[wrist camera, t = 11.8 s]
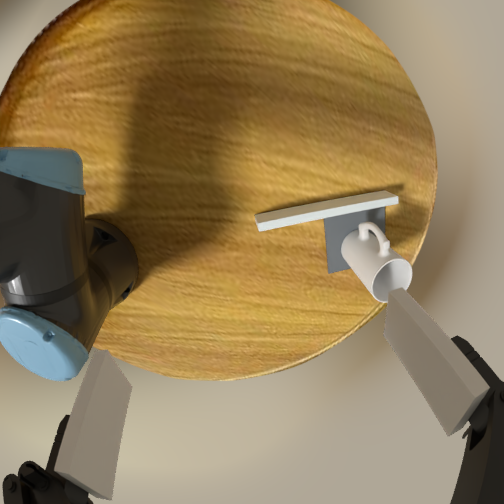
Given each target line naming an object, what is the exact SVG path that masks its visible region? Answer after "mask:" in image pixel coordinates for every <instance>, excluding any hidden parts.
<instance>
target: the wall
mask: <svg viewBox="0 0 504 504" xmlns="http://www.w3.org/2000/svg"><path fill="white" fill-rule="evenodd" d="M394 204H398V196H396V195H394V194H392V193H390V192H388V191H386V190H384V191H378V192H372V193H366V194H361V195H355V196H349V197H344V198H338V199H333V200H327V201H322V202H316V203H311V204H306V205H301V206H296V207H291V208H286V209H281V210H276V211H271V212H266V213H261V214H256V215H255V220H256V224H257V227H258V230H259V232H260V231H265V230H269V229H274V228H279V227H284V226H288V225H293V224H298V223H303V222H308V221H313V220H318V219H323V218H328V217H333V216H338V215H343V214H348V213H353V212H358V211H363V210H368V209H373V208H379V207H384V206H389V205H394Z"/></svg>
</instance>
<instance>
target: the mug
mask: <svg viewBox="0 0 504 504" xmlns="http://www.w3.org/2000/svg"><path fill="white" fill-rule="evenodd" d="M369 229H370V230H372V231H373V232H374V233H375V235H376V237H375V236H374V235H373V234H371V233H370V232H368V230H369ZM341 253H342V256H343V258H344V259H345V261H346V262H347V263H348V265H349V266H350V267H351V268H352V270H353V271H354V272H355V273H356V275H357V276H358V277H359V279H360V280H361V281H362V283H363V284H364V285H365V286H366V288H367V289H368V290H369V292H370V293H371V294H372V295H373V297H374V298H375V299H376V300H377V301H379V302H384V303H385V302H388V293H389V291H391V290H395V289H398V288H401V287H403V288H404V289H405V290H407V288H408V286H409V284H410V282H411V279H412V268H411V265H410V263H409V262H408V261H407V260H405V259H404V258H403V257H402V256H400V255H399V254H398V253H397V252H395V251H394V250H393V249H391V248H390V241H389V240H388V239H387V238H386V236H385V235H384V234H383V232H382V231H381V230H380V228H379V227H378V226H377V225H376V224H374V223H372V222H363V223H360V224H359V229H358V230H354V231H352V232H351V233H349V234H348V235H347V236H346V237H345V239H344V241H343V243H342V246H341Z"/></svg>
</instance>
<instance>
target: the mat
mask: <svg viewBox="0 0 504 504" xmlns="http://www.w3.org/2000/svg"><path fill="white" fill-rule="evenodd" d="M363 222H372V223H374V224H376V225H377V226H378V227H379V228H380V230H381V231H382V232H383V234H384V235H385V206H384V207H379V208H373V209H368V210H363V211H358V212H353V213H348V214H343V215H338V216H333V217H328V218H324V227H325V238H326V249H327V262H328V273H329V274H330V273H334V272H338V271H342V270H346V269H350V268H351V267H350V266H349V265H348V263H347V262H346V261H345V259H344V258H343V256H342V253H341V246H342V243H343V241H344V239H345V237H346V236H347V235H348V234H349V233H351V232H352V231H354V230H358V229H359V224H360V223H363ZM368 232H370V233H371V234H373V235H374V236H375V237H376V235H375V233H374V232H373V231H372V230H370V229H369V230H368Z"/></svg>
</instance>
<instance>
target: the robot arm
mask: <svg viewBox="0 0 504 504" xmlns="http://www.w3.org/2000/svg"><path fill="white" fill-rule="evenodd" d="M85 194H86V192H85V189H84V188H83V163H82V159H81V157H80V156H79V154H78V153H77V152H76V151H74V150H71V149H66V148H51V147H3V148H0V289H1V293H2V296H3V299H4V307H2V308H1V309H0V341H1V343H2V344H3V346H4V347H5V349H6V350H7V351H8V352H9V354H10V355H11V356H12V357H13V358H14V359H15V360H17V361H18V362H19V363H20V364H21V365H23V366H24V367H25V368H27V369H28V370H30V371H31V372H33V373H35V374H37V375H39V376H41V377H44V378H47V379H50V380H55V381H67V380H70V379H72V378H73V377H76V376H77V375H78V373H79V372H80V370H81V369H82V367H83V365H84V364H85V362H86V361H87V359H88V358H89V357H88V356H89V355H88V354H89V352H90V350H91V348H92V346H93V343H94V341H95V339H96V337H97V335H98V333H99V331H100V328H101V326H102V324H103V322H104V320H105V318H106V316H107V314H108V312H109V310H111V309H112V308H114V307H115V306H117V305H118V304H119V303H121V302H122V301H124V300H125V299H126V298H127V297H128V295H129V294H130V293H131V291H132V289H133V287H134V285H135V283H136V280H137V277H138V260H137V256H136V253H135V250H134V248H133V246H132V244H131V243H130V241H129V240H128V238H127V237H126V236H125V235H124V234H123V233H122V232H121V231H120V230H119V229H117V228H116V227H115V226H113V225H111V224H109V223H107V222H105V221H102V220H97V219H86V220H85V212H84V195H85ZM384 337H385V338H386V340H387V341H388V343H389V344H390V346H391V347H392V349H393V350H394V352H395V353H396V354H397V356H398V357H399V359H400V360H401V362H402V363H403V365H404V366H405V368H406V369H407V371H408V373H409V374H410V376H411V377H412V379H413V380H414V382H415V383H416V385H417V386H418V388H419V390H420V391H421V392H422V394H423V396H424V398H425V399H426V401H427V402H428V404H429V406H430V407H431V409H432V411H433V412H434V414H435V415H436V417H437V419H438V420H439V422H440V424H441V425H442V427H443V429H444V431H445V432H446V434H447V436H450V435H452V434H453V433H455V432H457V431H458V430H460V429H461V428H463V426H464V425H465V424H466V422H467V421H469V422H470V424H471V425H470V426H469V428H468V429H467V430H466V432H465V433H464V434H463V437H462V438H465V437H466V435H467V434H468V437H467V443H466V448H465V452H464V457H463V462H462V465H461V470H460V473H459V477H458V481H457V484H456V488H455V491H454V494H453V497H452V500H451V503H450V504H504V382H502V381H501V380H500V379H499V378H498V377H497V375H496V374H495V373H494V372H493V370H492V369H491V368H490V367H489V366H488V364H487V363H486V362H485V361H484V360H483V358H482V357H480V355H479V354H478V353H477V352H476V351H475V350H474V348H473V347H472V346H471V345H470V344H469V343H468V341H466V340H464V339H463V338H461V337H459V336H455V337H453V338H451V339H450V338H449V337H448V336H447V335H446V333H444V331H443V330H442V329H441V328H440V327H439V326H438V324H437V323H436V322H435V321H434V320H433V319H432V318H431V317H430V316H429V315H428V314H427V313H426V311H425V310H424V309H423V308H422V307H421V306H420V305H419V304H418V303H417V302H416V301H415V300H414V299H413V298H412V297H411V296H410V295H409V294H408V292H407V291H406V290H405V289H404V288H403V287H401V288H398V289H395V290H391V291H389V293H388V303H387V312H386V321H385V329H384ZM131 390H132V386H131V384H130V383H129V382H128V380H127V379H126V377H125V376H124V374H123V373H122V371H121V370H120V368H119V367H118V365H117V364H116V362H115V361H114V359H113V357H112V356H111V354H110V353H109V351H108V350H100V351H95V352H94V354H93V357H92V359H91V362H90V364H89V367H88V369H87V371H86V374H85V377H84V379H83V382H82V385H81V387H80V390H79V392H78V395H77V398H76V401H75V403H74V406H73V409H72V412H71V415H66V416H65V417H64V418H63V420H62V421H61V422H60V424H59V427H58V430H57V435H56V437H55V442H54V443H53V446H52V450H51V453H50V456H49V460H48V463H47V467H46V470H44V469H43V468H41V467H40V466H39V465H37V464H36V463H35V462H33V461H26V462H24V463H23V464H22V465H21V467H20V468H19V471H18V476H16V475H14V474H9V475H7V476H6V477H5V478H4V481H3V497H4V504H93V502H92V501H91V500H90V498H88V494H89V493H90V494H91V495H93V496H95V497H97V498H101V499H106V500H112V494H113V487H114V480H115V473H116V467H117V460H118V454H119V449H120V443H121V437H122V432H123V427H124V422H125V417H126V413H127V408H128V403H129V399H130V394H131Z"/></svg>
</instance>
